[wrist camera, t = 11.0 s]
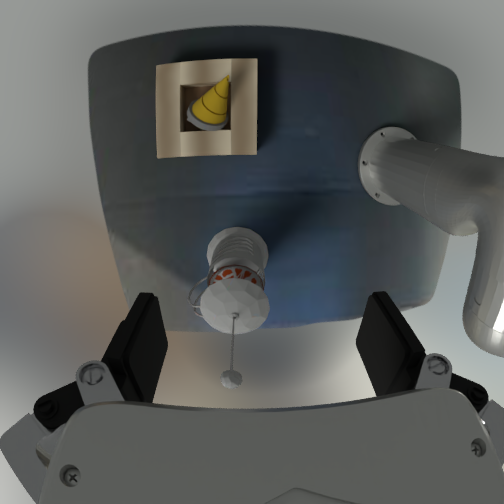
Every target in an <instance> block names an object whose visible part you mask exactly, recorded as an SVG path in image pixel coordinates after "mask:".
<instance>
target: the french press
mask: <svg viewBox="0 0 504 504" xmlns="http://www.w3.org/2000/svg"><path fill="white" fill-rule="evenodd" d="M268 257H269V255H268V250H267V245H266V243H265V242H264V241H263V239H262V238H261V236H260V235H258V234H257V233H255V232H254V231H252V230H250V229H247V228H241V227H233V228H228V229H224V230H223V231H221V232H220V233H218V234H217V235H215V236H214V238H213V239H212V241H211V242H210V244H209V245H208V252H207V258H208V262H209V265H210V269H209V273H208V276H207V277H205V278H204V279H202V280H200V281H199V282H198V283H196V284H195V286H194V287H193V288H192V290H191V291H190V293H189V296H188V303H189V304H190V305H191V306H193V307H194V311H195V313H196V315H198V316H200V317H203V318H204V319H205V320H206V321H207V322H208V323H209V325H210V326H211V327H213V328H215V329H217V330H219V331H221V332H224V333H231V334H232V346H231V366H230V370H227V371H225V372H223V373H222V374H221V377H220V379H221V382H222V384H223V386H225V387H227V388H230V389H234V388H237V387H238V386H239V385H240V384H241V383H242V376H241V374H240V373H239V372H237V371H234V370H232V369H233V345H234V344H233V343H234V334H241V333H248V332H250V331H252V330H254V329H256V328H258V327H260V325H261V324H262V323H263V322H264V321H265V320H266V319H267V316H268V312H269V309H270V308H269V303H268V297H267V296H266V294H265V293H264V292H263V291H264V286H265V275H264V268H265V267H266V264H267V260H268ZM213 271H214V274H213ZM261 272H262V273H263V275H262V273H261ZM260 273H261V275H260ZM212 274H213V275H212ZM259 275H260V277H259ZM261 276H262V278H261ZM207 278H208V279H207ZM263 278H264V279H263ZM205 279H207V285H208V288H207V289H205V290H204V291H203V292H202V293H201V294H200V295H199V296H198V297H197V299H196V301H195V304H194V305H193V304H191V302H190V296H191V293H192V291H193V290H194V289H195V287H196V286H197V285H198V284H200V283H201V282H202V281H204V280H205ZM262 279H263V282H262ZM202 294H203V295H202ZM201 295H202V296H201ZM200 296H201V304H200V305H196V303H197V301H198V299H199V298H200ZM196 307H200V310H201V312H202V315H200V314H198V313H197V312H196Z"/></svg>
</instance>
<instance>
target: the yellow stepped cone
mask: <svg viewBox="0 0 504 504" xmlns="http://www.w3.org/2000/svg"><path fill="white" fill-rule="evenodd" d="M228 81H229V75H227V76H226V77H225V78H223V79H222V80H221V81H220V82H219V83H217V84H216V85H215V86H214V87H212V88H211V89H210V90H209V91H208V92H206V93H205V94H204V95H203V96H202V97H201V98H200V99H196V100H194V101H192V102H191V104H190V105H189V108H188V110H187V116H188V118H187V120H188V121H189V122H191V123H192V124H194V125H195V126H196V127H198V128H200V131H201V130H207V131H218V130H220V129H222V128H224V126H225V125H226V123H227V121H228V119H229V114H228V112H227V99H228V87H229V82H228Z"/></svg>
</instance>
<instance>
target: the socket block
mask: <svg viewBox="0 0 504 504" xmlns="http://www.w3.org/2000/svg"><path fill="white" fill-rule="evenodd" d="M227 75H229V81H228V82H229V87H228V99H227V112H228V114H229V119H228V121H227V123H226V125H225V126H224V128H222V129H220V130H218V131H207V130H201V131H200V128H198V127H196V126H195V125H194V124H192V123H191V122H189V121H188V120H187V118H188V116H187V110H188V108H189V105H190V104H191V102H192V101H194V100H196V99H200V98H201V97H202V96H203V95H204V94H205V93H206V92H208V91H209V90H210V89H211V88H212V87H214V86H215V85H216V84H217V83H219V82H220V81H221V80H222V79H223V78H225V77H226V76H227ZM156 136H157V158H168V157H183V156H203V155H257V59H213V60H199V61H188V62H179V63H171V64H163V65H157V66H156Z"/></svg>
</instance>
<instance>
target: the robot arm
mask: <svg viewBox="0 0 504 504" xmlns="http://www.w3.org/2000/svg"><path fill="white" fill-rule="evenodd" d="M381 133H382V135H381ZM363 161H364V163H363V164H362V162H363ZM358 173H359V177H360V180H361V183H362V185H363V187H364V189H365V190H366V192H367V193H368V194H369V195H370V196H371V197H372V198H374V199H375V200H377V201H379V202H380V203H383V204H386V205H400V204H402V205H404V206H406V207H407V208H409V209H411V210H412V211H414V212H415V213H417V214H419V215H420V216H422V217H423V218H425V219H426V220H428V221H429V222H431V223H433V224H434V225H436V226H437V227H439V228H440V229H442V230H443V231H445V232H447V233H449V234H452V235H455V236H467V235H471V234H474V233H477V232H478V241H477V248H476V257H475V261H474V266H473V270H472V274H471V279H470V283H469V286H468V290H467V295H466V299H465V303H464V307H463V326H464V329H465V332H466V334H467V335H468V337H469V338H470V340H471V341H472V342H473V343H474V344H475V345H476V346H478V347H479V348H480V349H482V350H484V351H486V352H488V353H490V354H493V355H496V356H500V357H504V157H497V156H489V155H485V154H479V153H475V152H471V151H467V150H463V149H458V148H454V147H450V146H445V145H440V144H435V143H430V142H425V141H419V140H417V139H416V137H414V136H413V135H412V134H411V133H410V132H408V131H406V130H405V129H402V128H399V127H384V128H380V129H378V130H376V131H374V132H373V133H372V134H371V135H370V136H369V137H368V138H367V139H366V140H365V142H364V144H363V145H362V147H361V150H360V153H359V158H358ZM375 194H376V195H375ZM356 346H357V349H358V351H359V353H360V356H361V358H362V361H363V363H364V365H365V368H366V371H367V373H368V376H369V378H370V381H371V383H372V386H373V388H374V391H375V393H376V396H377V397H372V398H366V399H360V400H354V401H348V402H341V403H332V404H323V405H314V406H302V407H288V408H267V409H224V408H223V409H222V408H201V407H188V406H174V405H164V404H154V403H152V402H153V398H154V394H155V390H156V387H157V383H158V380H159V376H160V372H161V369H162V366H163V362H164V358H165V355H166V352H167V348H168V341H167V337H166V333H165V328H164V324H163V320H162V315H161V310H160V306H159V301H158V297H157V296H154V294H153V293H142V292H141V293H139V295H138V297H137V298H136V300H135V302H134V304H133V306H132V308H131V309H130V311H129V313H128V315H127V317H126V319H125V320H123V321H122V322H121V323H120V325H119V327H118V329H117V330H116V333H115V334H114V336H113V338H112V340H111V342H110V344H109V346H108V348H107V350H106V352H105V354H104V356H103V358H102V360H101V361H89V362H86V363H84V364H83V365H82V366H80V367H79V369H78V370H77V372H76V381H74V382H72V383H70V384H68V385H66V386H64V387H61V388H59V389H57V390H55V391H53V392H50V393H48V394H46V395H43V396H42V397H40V398H39V399H38V400H37V401H36V403H35V405H34V409H33V410H34V413H33V414H32V415H30V414H29V413H28V414H27V415H25V416H24V417H23V418H22V419H21V420H19V421H18V422H17V423H16V424H15V425H13V426H12V427H11V428H10V429H9V430H7V431H6V432H5V433H4V434H3V435H2V436H1V439H0V449H1V451H2V453H3V455H4V456H5V458H6V460H7V461H8V463H9V465H10V466H11V468H12V470H13V471H14V473H15V474H16V476H17V477H18V479H19V480H20V482H21V483H22V485H23V486H24V488H25V489H26V491H27V492H28V493H29V495H30V496H31V497H32V499H33V500H34V501H35V502H36V504H504V472H503V469H502V465H503V463H504V408H502V407H501V406H500V405H499V404H497V403H496V402H495V401H493V400H491V401H489V400H488V394H487V391H486V390H485V388H484V387H482V386H481V385H480V384H477V383H475V382H473V381H470V380H467V379H466V378H463V377H461V376H458V375H456V374H454V373H452V365H451V363H450V361H449V360H448V359H447V358H446V357H445V356H443V355H441V354H436V353H433V354H429V355H426V354H425V349H424V347H423V346H422V344H421V343H420V341H419V340H418V338H417V337H416V335H415V333H414V332H413V330H412V329H411V327H410V326H409V324H408V323H407V321H406V320H405V318H404V317H403V315H402V314H401V312H400V311H399V310H398V308H397V307H396V305H395V304H394V302H393V301H392V299H391V298H390V297H389V295H388V294H387V293H386V292H385V291H382V292H373V294H372V295H370V296H369V298H368V301H367V305H366V308H365V312H364V315H363V319H362V322H361V325H360V329H359V332H358V335H357V338H356Z"/></svg>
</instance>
